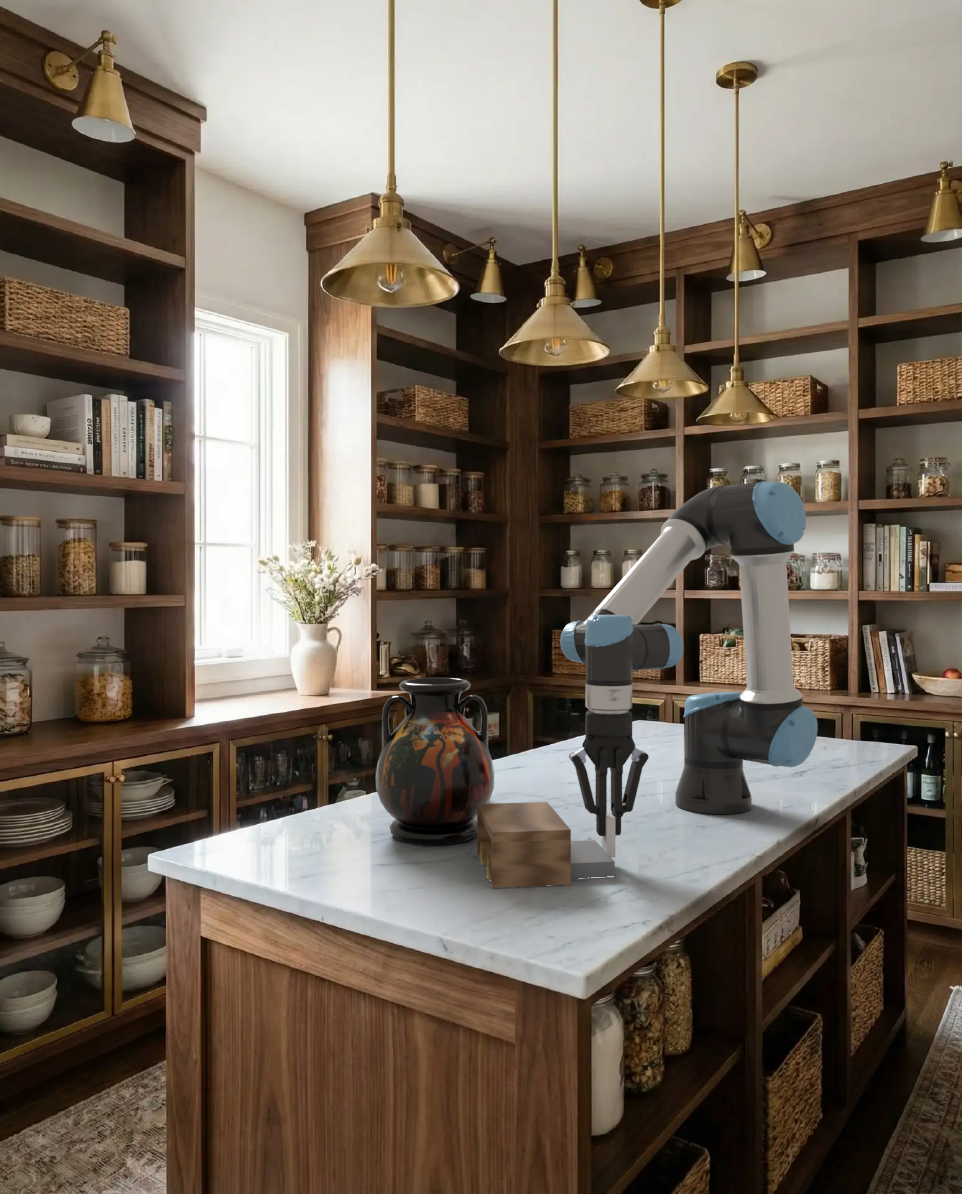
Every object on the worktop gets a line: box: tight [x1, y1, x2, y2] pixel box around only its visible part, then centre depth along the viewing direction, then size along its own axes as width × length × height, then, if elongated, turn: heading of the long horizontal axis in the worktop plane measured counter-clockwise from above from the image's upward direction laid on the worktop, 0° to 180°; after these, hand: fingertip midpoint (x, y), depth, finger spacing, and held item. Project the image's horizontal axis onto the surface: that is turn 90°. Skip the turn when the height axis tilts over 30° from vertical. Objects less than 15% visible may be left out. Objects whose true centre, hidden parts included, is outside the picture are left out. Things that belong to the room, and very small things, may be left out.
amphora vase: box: [375, 677, 495, 846], centre depth 174 cm, size 22×22×28 cm
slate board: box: [571, 839, 616, 880], centre depth 154 cm, size 16×12×3 cm
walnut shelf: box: [476, 801, 572, 889], centre depth 154 cm, size 12×18×8 cm, turn 8°
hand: (608, 855), depth 155 cm, fingers closed
